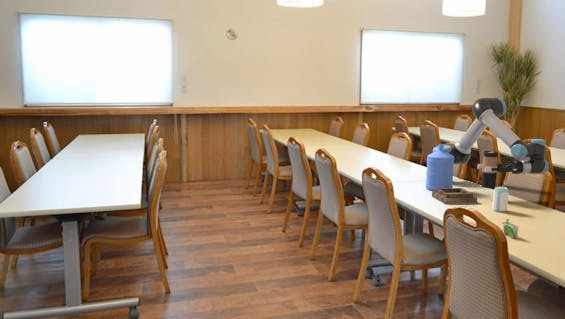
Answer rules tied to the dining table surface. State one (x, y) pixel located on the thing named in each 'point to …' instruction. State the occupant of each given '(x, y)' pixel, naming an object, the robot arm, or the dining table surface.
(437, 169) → the water jug
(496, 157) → the travel mug
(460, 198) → the brown wooden tray
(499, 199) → the can
